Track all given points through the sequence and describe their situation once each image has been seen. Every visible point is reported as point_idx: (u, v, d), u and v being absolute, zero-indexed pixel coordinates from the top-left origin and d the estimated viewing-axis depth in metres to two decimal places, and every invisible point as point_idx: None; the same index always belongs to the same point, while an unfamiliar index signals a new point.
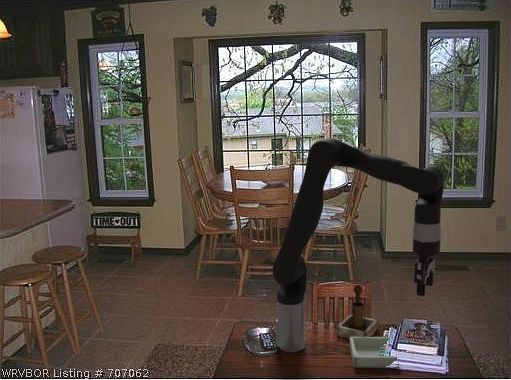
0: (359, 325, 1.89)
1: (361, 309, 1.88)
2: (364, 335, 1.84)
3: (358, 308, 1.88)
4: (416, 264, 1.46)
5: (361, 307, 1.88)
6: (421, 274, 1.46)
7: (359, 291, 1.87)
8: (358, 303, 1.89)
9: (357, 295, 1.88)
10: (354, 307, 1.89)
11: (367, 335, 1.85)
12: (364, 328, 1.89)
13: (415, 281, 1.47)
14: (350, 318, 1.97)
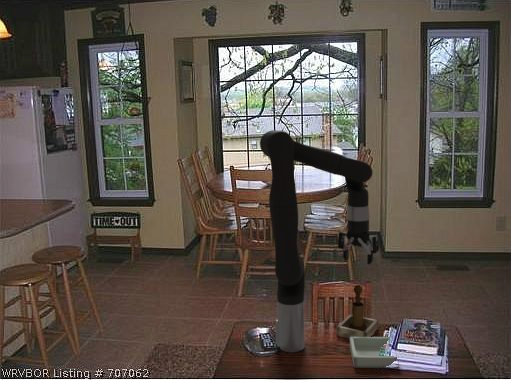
0: (359, 325, 1.89)
1: (361, 309, 1.88)
2: (364, 335, 1.84)
3: (358, 308, 1.88)
4: (375, 238, 1.80)
5: (361, 307, 1.88)
6: (377, 244, 1.82)
7: (359, 291, 1.87)
8: (358, 303, 1.89)
9: (357, 295, 1.88)
10: (354, 307, 1.89)
11: (367, 335, 1.85)
12: (364, 328, 1.89)
13: (376, 251, 1.81)
14: (350, 318, 1.97)
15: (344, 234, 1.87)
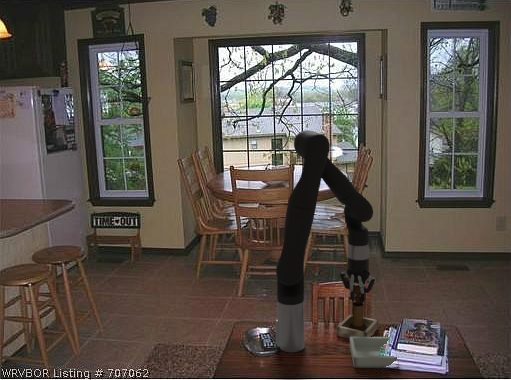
0: (359, 325, 1.89)
1: (361, 309, 1.88)
2: (364, 335, 1.84)
3: (358, 308, 1.88)
4: (374, 281, 1.84)
5: (361, 307, 1.88)
6: (373, 285, 1.86)
7: (359, 291, 1.87)
8: (358, 303, 1.89)
9: (357, 295, 1.88)
10: (354, 307, 1.89)
11: (367, 335, 1.85)
12: (364, 328, 1.89)
13: (369, 291, 1.85)
14: (350, 318, 1.97)
15: (345, 273, 1.90)
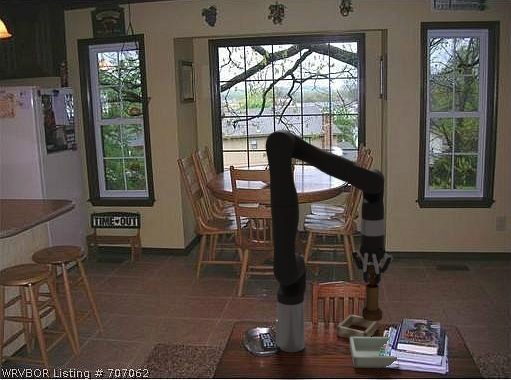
0: (374, 309, 1.71)
1: (376, 291, 1.71)
2: (364, 335, 1.84)
3: (373, 290, 1.70)
4: (391, 259, 1.66)
5: (376, 289, 1.70)
6: (389, 264, 1.68)
7: (373, 271, 1.70)
8: (372, 284, 1.71)
9: (371, 276, 1.71)
10: (368, 289, 1.71)
11: (367, 335, 1.85)
12: (379, 312, 1.72)
13: (384, 271, 1.68)
14: (350, 318, 1.97)
15: (357, 252, 1.72)
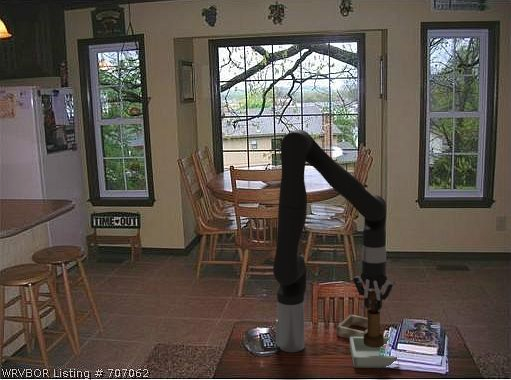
0: (375, 335, 1.71)
1: (377, 317, 1.70)
2: None
3: (374, 316, 1.70)
4: (392, 286, 1.65)
5: (377, 315, 1.70)
6: (390, 291, 1.68)
7: (375, 297, 1.69)
8: (374, 311, 1.71)
9: (373, 302, 1.70)
10: (369, 315, 1.70)
11: None
12: (381, 338, 1.71)
13: (385, 298, 1.67)
14: (350, 318, 1.97)
15: (359, 278, 1.71)
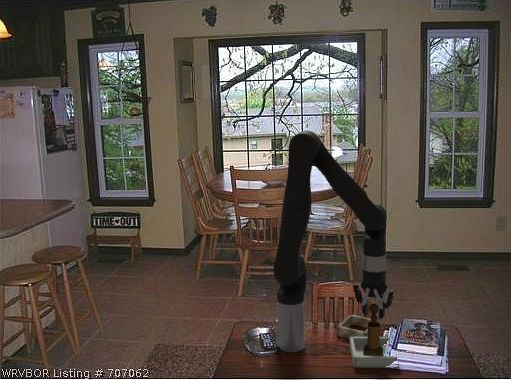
0: (375, 348, 1.72)
1: (377, 330, 1.71)
2: (364, 335, 1.84)
3: (374, 329, 1.70)
4: (393, 293, 1.66)
5: (377, 328, 1.71)
6: (392, 299, 1.68)
7: (375, 310, 1.70)
8: (374, 323, 1.71)
9: (373, 314, 1.71)
10: (370, 328, 1.71)
11: (367, 335, 1.85)
12: (381, 351, 1.72)
13: (388, 306, 1.67)
14: (350, 318, 1.97)
15: (359, 286, 1.72)
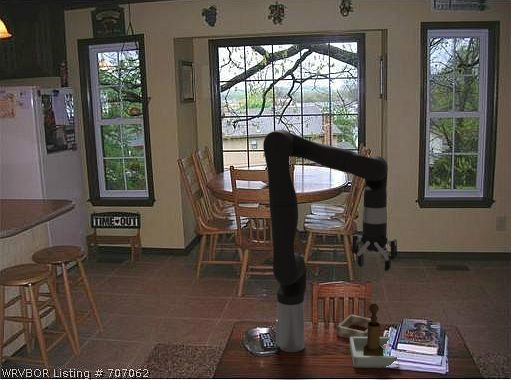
0: (375, 348, 1.72)
1: (377, 330, 1.71)
2: (364, 335, 1.84)
3: (374, 329, 1.70)
4: (394, 242, 1.63)
5: (377, 328, 1.71)
6: (396, 249, 1.65)
7: (375, 310, 1.70)
8: (374, 323, 1.71)
9: (373, 314, 1.71)
10: (370, 328, 1.71)
11: (367, 335, 1.85)
12: (381, 351, 1.72)
13: (394, 257, 1.64)
14: (350, 318, 1.97)
15: (359, 238, 1.70)
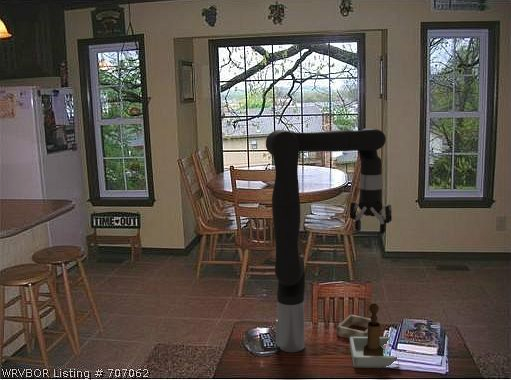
0: (375, 348, 1.72)
1: (377, 330, 1.71)
2: (364, 335, 1.84)
3: (374, 329, 1.70)
4: (389, 207, 1.77)
5: (377, 328, 1.71)
6: (390, 213, 1.79)
7: (375, 310, 1.70)
8: (374, 323, 1.71)
9: (373, 314, 1.71)
10: (370, 328, 1.71)
11: (367, 335, 1.85)
12: (381, 351, 1.72)
13: None
14: (350, 318, 1.97)
15: (356, 204, 1.84)
